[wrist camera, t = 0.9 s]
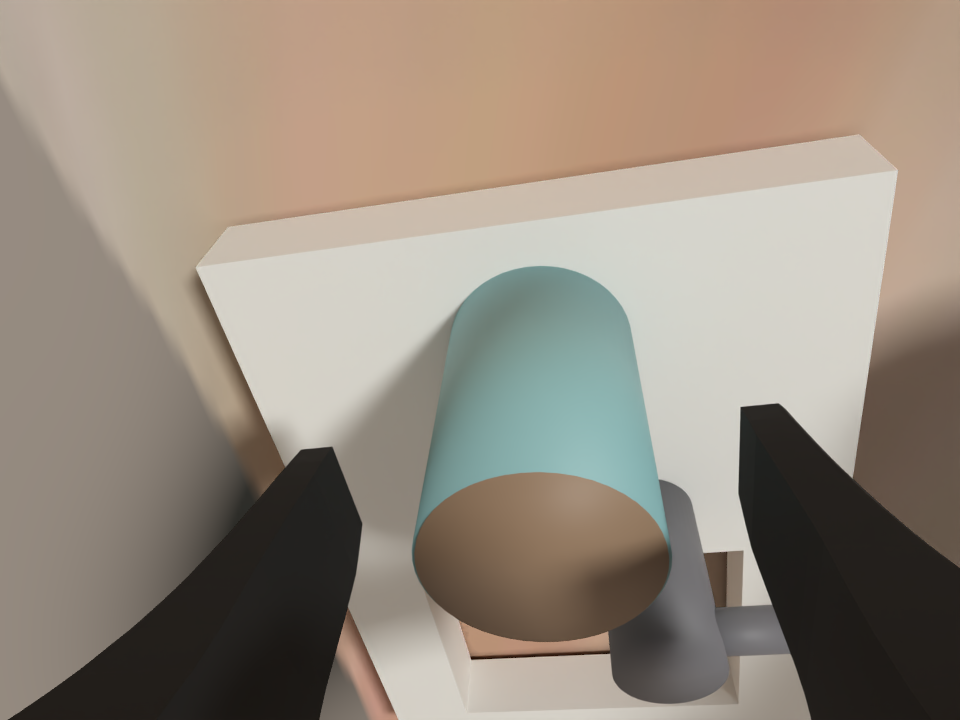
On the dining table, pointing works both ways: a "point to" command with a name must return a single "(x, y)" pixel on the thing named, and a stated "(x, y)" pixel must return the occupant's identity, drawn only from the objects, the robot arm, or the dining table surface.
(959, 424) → the dining table surface
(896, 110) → the dining table surface
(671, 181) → the white box with opening
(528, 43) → the dining table surface
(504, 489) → the cylinder
